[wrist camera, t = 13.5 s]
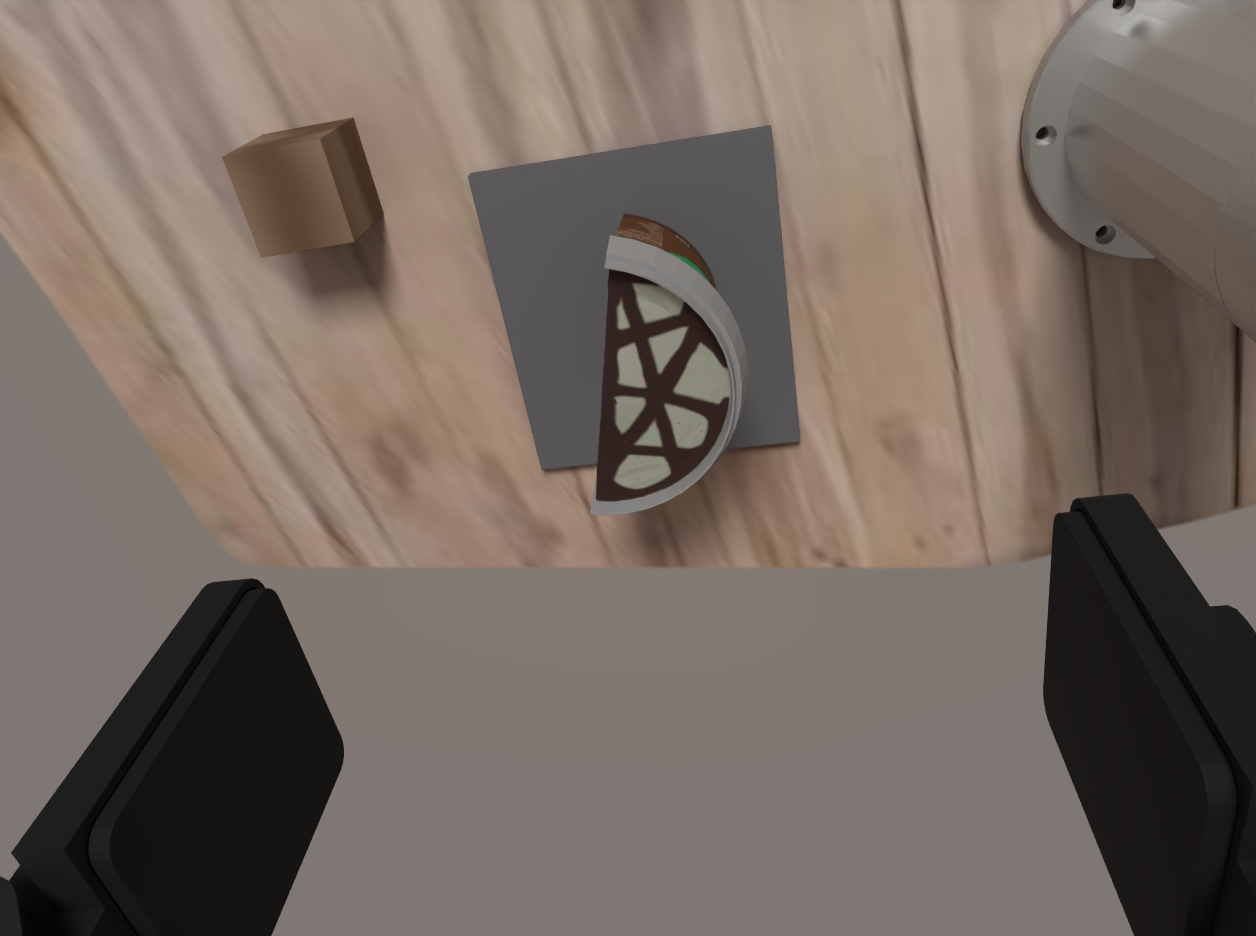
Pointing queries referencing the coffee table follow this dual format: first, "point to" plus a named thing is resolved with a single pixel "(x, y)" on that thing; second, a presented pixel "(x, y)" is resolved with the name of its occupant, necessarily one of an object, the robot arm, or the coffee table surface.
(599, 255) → the mat
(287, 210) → the walnut block
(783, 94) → the coffee table surface
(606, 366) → the food container
